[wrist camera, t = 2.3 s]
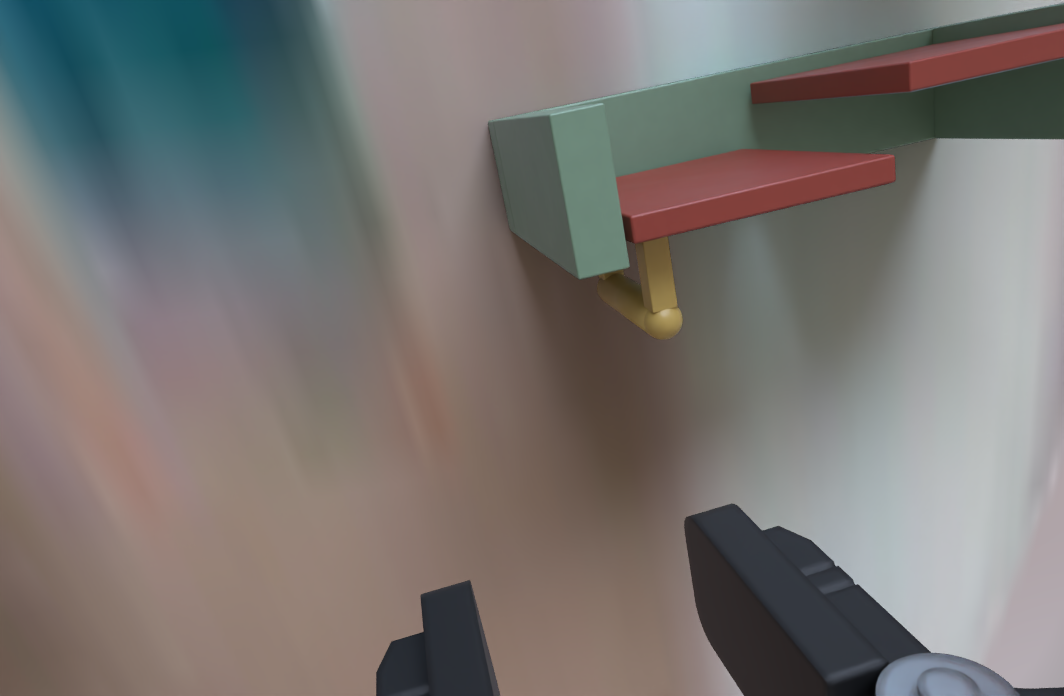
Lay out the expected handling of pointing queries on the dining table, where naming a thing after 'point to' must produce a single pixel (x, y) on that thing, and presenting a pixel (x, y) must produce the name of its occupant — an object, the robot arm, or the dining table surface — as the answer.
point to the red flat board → (717, 212)
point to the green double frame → (776, 121)
